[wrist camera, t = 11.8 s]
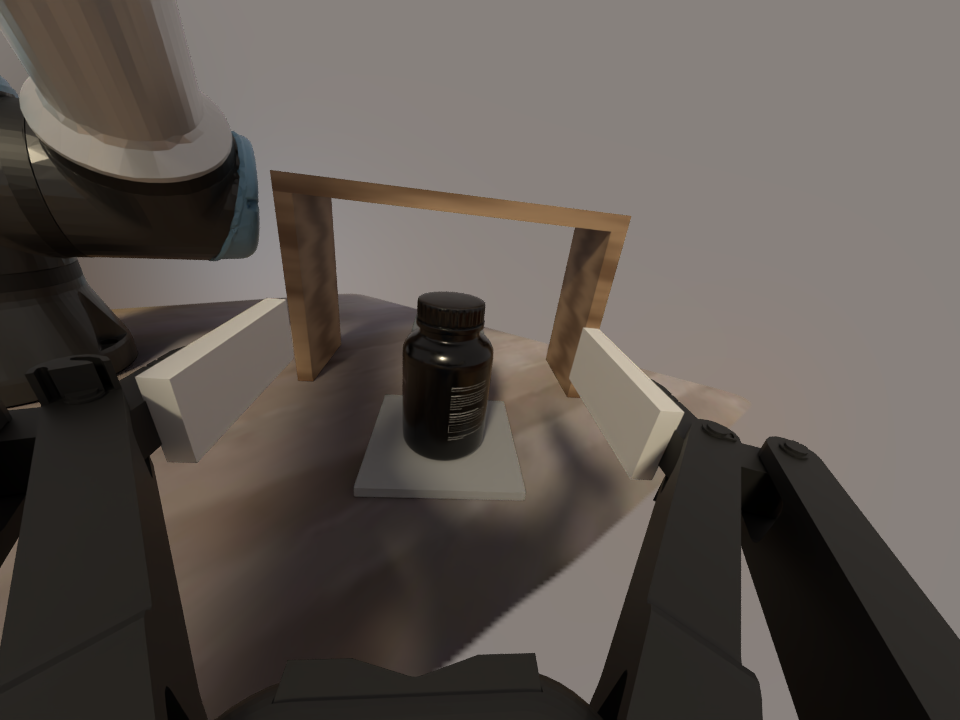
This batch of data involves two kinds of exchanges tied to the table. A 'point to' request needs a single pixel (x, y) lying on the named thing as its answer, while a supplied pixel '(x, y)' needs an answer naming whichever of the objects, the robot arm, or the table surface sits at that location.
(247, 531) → the table surface
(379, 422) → the coaster
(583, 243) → the bridge
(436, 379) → the supplement bottle
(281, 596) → the table surface
